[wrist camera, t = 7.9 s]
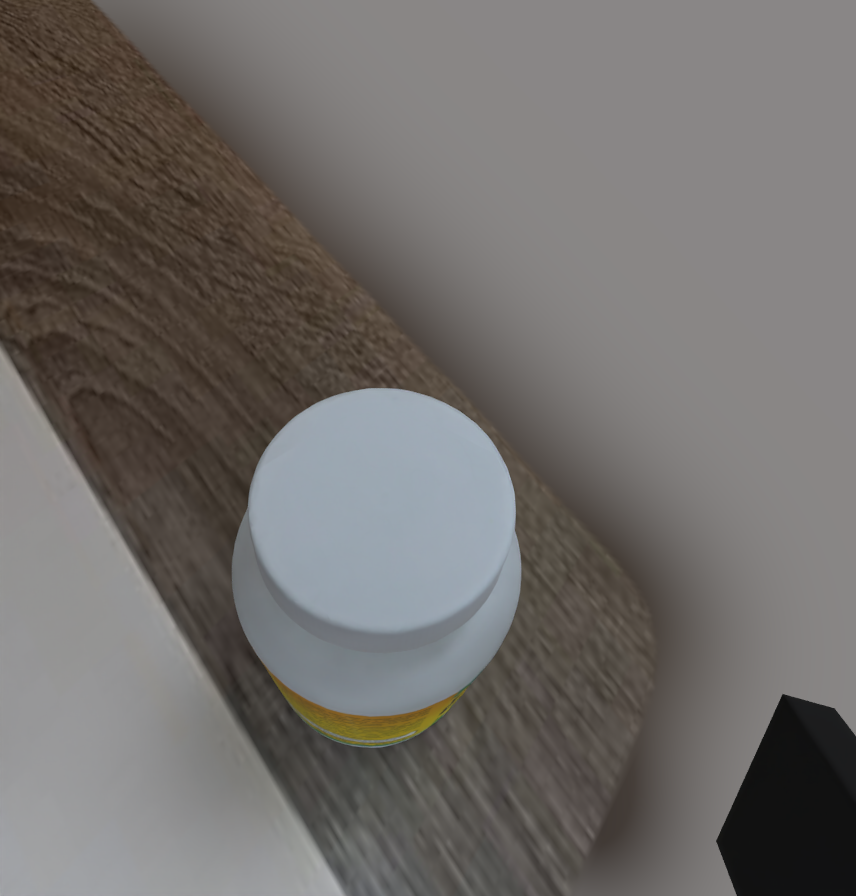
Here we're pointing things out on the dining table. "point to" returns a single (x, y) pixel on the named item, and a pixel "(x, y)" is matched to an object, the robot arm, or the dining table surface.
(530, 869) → the dining table surface
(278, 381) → the dining table surface
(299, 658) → the supplement bottle
